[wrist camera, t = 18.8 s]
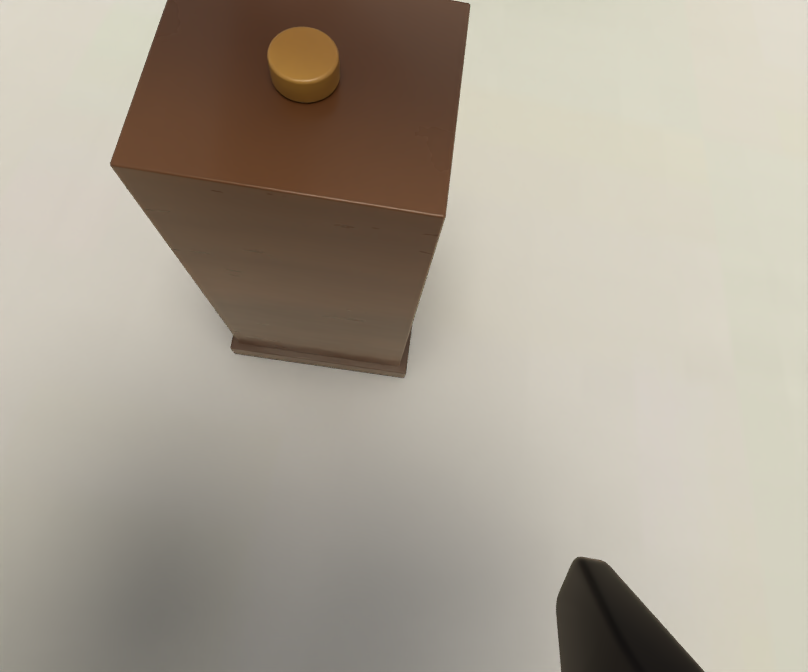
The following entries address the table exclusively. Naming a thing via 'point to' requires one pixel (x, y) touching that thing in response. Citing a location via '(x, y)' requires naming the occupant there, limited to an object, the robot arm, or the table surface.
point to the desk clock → (301, 165)
